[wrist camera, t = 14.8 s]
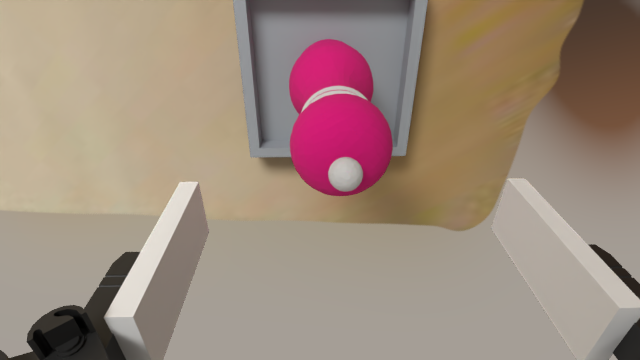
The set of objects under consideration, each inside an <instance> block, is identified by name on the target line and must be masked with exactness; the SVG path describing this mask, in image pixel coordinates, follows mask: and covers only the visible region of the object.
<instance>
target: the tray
mask: <svg viewBox="0 0 640 360" xmlns="http://www.w3.org/2000/svg"><path fill="white" fill-rule="evenodd" d="M427 2H428V0H233V5H234V14H235V22H236V31H237V40H238V49H239V58H240V67H241V76H242V85H243V94H244V103H245V112H246V121H247V130H248V138H249V147H250V156H251V157H291V153H290V136H291V133H292V129H293V126H294V123H295V122H296V120H297V118H298V116H299V114H298V113H297V111H296V109H295V108H294V106H293V104H292V101H291V97H290V92H289V78H290V73H291V71H292V68H293V66H294V64H295V62H296V61H297V59H298V58H299V57H300V56H301V54H302V53H303V52H304V51H305V49H306V48H308V47H309V46H310V45H312V44H313V43H315V42H317V41H320V40H325V39H334V40H339V41H342V42H344V43H346V44H347V45H349V46H351V47H352V48H354V49H356V50H357V51H358V52H359V53H360V54H362V56H363V57H364V58H365V59H366V61H367V63H368V65H369V67H370V69H371V72H372V77H373V90H374V91H373V95H372V99H371V103H372V104H373V105H375V106H376V107H377V108H378V109H379V110H380V111H381V112H382V114H383V115H384V117H385V119H386V120H387V122H388V124H389V127H390V130H391V135H392V141H393V150H392V156H406V149H407V142H408V135H409V128H410V121H411V114H412V107H413V100H414V93H415V86H416V79H417V72H418V65H419V58H420V51H421V44H422V37H423V30H424V23H425V16H426V9H427Z"/></svg>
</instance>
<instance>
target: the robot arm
mask: <svg viewBox="0 0 640 360" xmlns="http://www.w3.org/2000/svg"><path fill="white" fill-rule="evenodd" d="M491 229H492V230H493V232H494V234H495V235H496V237H497V238H498V240H499V242H500V243H501V244H502V246H503V248H504V249H505V251H506V252H507V254H508V255H509V257H510V258H511V260H512V261H513V263H514V264H515V266H516V268H517V269H518V270H519V272H520V274H521V275H522V277H523V278H524V280H525V281H526V283H527V284H528V286H529V288H530V289H531V290H532V292H533V294H534V295H535V296H536V298H537V300H538V301H539V303H540V304H541V306H542V307H543V309H544V311H545V312H546V314H547V315H548V317H549V318H550V320H551V321H552V323H553V324H554V326H555V327H556V329H557V331H558V332H559V334H560V335H561V336H562V338H563V340H564V341H565V343H566V344H567V346H568V347H569V349H570V351H571V352H572V354H573V355H574V357H575V358H576V360H609V358H610V357H611V356H612V354H614V355H615V356H616V358H617V359H618V360H640V284H639V283H638V282H637V281H636V280H635V279H634V278H632V277H631V275H630V274H629V273H628V272H627V271H626V270H625V269H624V268H622V266H621V265H620V264H619V263H618V262H617V261H616V260H615V259H614V257H612V256H611V254H609V253H607V252H606V251H604V250H603V249H601V248H600V247H598V246H597V245H588V244H587V243H586V242H585V241H584V240H583V239H582V238H581V237H580V236H579V235H578V234H577V233H576V232H575V231H574V230H573V229H572V228H571V226H570V225H569V224H568V223H567V222H566V221H565V220H564V219H563V218H562V217H561V216H560V215H559V214H558V213H557V212H556V211H555V210H554V208H553V207H552V206H551V205H550V204H549V203H548V202H547V201H546V200H545V199H544V198H543V197H542V196H541V195H540V194H539V193H538V192H537V190H536V189H535V188H534V187H533V186H532V185H531V184H530V183H529V182H528V181H527V180H526V179H525V178H517V179H516V178H512V179H510V178H508V179H507V181H506V184H505V187H504V190H503V193H502V196H501V200H500V202H499V205H498V208H497V211H496V214H495V217H494V221H493V223H492V227H491ZM208 233H209V229H208V225H207V220H206V215H205V210H204V206H203V201H202V196H201V192H200V187H199V182H180V183H179V185H178V186H177V188H176V190H175V192H174V194H173V195H172V197H171V199H170V201H169V202H168V204H167V206H166V208H165V210H164V211H163V213H162V215H161V217H160V219H159V220H158V222H157V224H156V226H155V227H154V229H153V231H152V233H151V235H150V236H149V238H148V240H147V241H146V243H145V245H144V247H143V249H142V250H141V252H125V253H124V254H123V255H122V256H121V257H120V258H119V259H117V260H116V261H115V262H114V263H113V264H112V265H111V267H110V269H109V270H108V272H107V273H106V275H105V278H103V280H102V281H101V283H100V285H99V288H97V289H96V291H95V292H94V294H93V296H92V297H91V299H90V300H89V302H88V304H87V305H86V307H85V308H84V309H83V308H82V307H79V306H75V305H70V306H63V307H60V308H57V309H54V310H52V311H50V312H49V313H47V314H45V315H44V316H42V317H41V318H40V319H39V320H38V321H37V322H36V323H35V324H34V325H33V326H32V328H31V330H30V331H29V333H28V336H27V343H28V344H29V346H30V347H31V348H32V350H33V352H30V353H26V354H23V355H19V356H15V357H12V358H8V356H7V355H6V354H5V353H4V352H2V351H1V350H0V360H163V359H164V356H165V353H166V350H167V348H168V345H169V342H170V339H171V337H172V334H173V331H174V328H175V325H176V322H177V320H178V317H179V314H180V312H181V309H182V306H183V303H184V300H185V298H186V295H187V292H188V289H189V286H190V284H191V281H192V278H193V275H194V273H195V270H196V267H197V264H198V261H199V259H200V256H201V253H202V250H203V248H204V245H205V242H206V239H207V236H208Z"/></svg>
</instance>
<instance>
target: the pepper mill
mask: <svg viewBox="0 0 640 360" xmlns="http://www.w3.org/2000/svg"><path fill="white" fill-rule="evenodd" d="M373 91H374V90H373V77H372V72H371V69H370V67H369V65H368V63H367V61H366V59H365V58H364V57H363V56H362V54H360V53H359V52H358V51H357V50H356V49H354V48H352V47H351V46H349V45H347V44H346V43H344V42H342V41H339V40H334V39H325V40H320V41H317V42H315V43H313V44H312V45H310V46H309V47H308V48H306V49H305V51H304V52H303V53H302V54H301V56H300V57H299V58H298V59H297V61H296V62H295V64H294V66H293V68H292V71H291V73H290V78H289V92H290V97H291V101H292V104H293V106H294V108H295V109H296V111H297V113H298V114H299V116H298V118H297V120H296V122H295V123H294V126H293V129H292V133H291V136H290V153H291V158H292V162H293V164H294V166H295V169H296V170H297V172H298V173H299V175H300V176H301V178H302V179H303V180H304V181H305V182H306V183H307V184H308V185H310V186H311V187H312V188H314V189H316V190H318V191H320V192H322V193H324V194H328V195H332V196H348V195H353V194H357V193H360V192H362V191H364V190H366V189H367V188H369V187H371V186H372V185H373V184H375V183H376V182H377V181H378V180H379V179H380V178H381V176H382V175H383V174H384V173H385V171H386V169H387V167H388V165H389V162H390V159H391V156H392V150H393V141H392V135H391V130H390V127H389V124H388V122H387V120H386V119H385V117H384V115H383V114H382V112H381V111H380V110H379V109H378V108H377V107H376V106H375V105H373V104H372V103H371V99H372V95H373Z"/></svg>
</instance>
